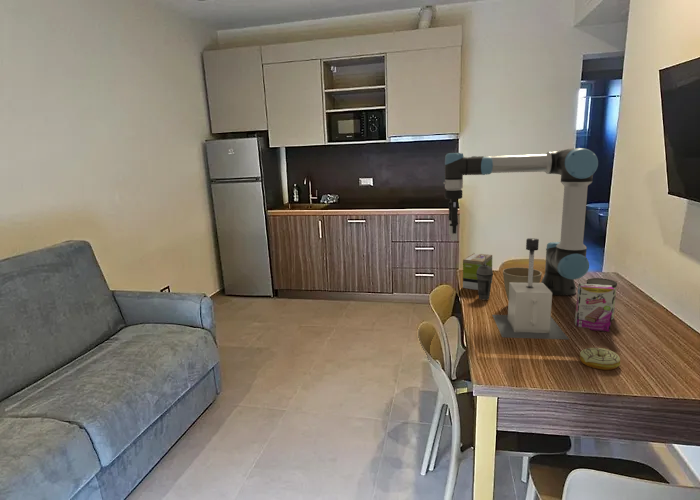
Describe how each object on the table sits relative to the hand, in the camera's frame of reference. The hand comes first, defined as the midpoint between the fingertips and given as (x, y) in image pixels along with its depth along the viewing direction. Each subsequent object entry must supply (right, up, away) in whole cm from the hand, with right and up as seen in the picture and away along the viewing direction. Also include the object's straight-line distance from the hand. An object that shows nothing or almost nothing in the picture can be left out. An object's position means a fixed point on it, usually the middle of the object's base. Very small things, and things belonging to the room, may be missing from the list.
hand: (452, 237), depth 191 cm
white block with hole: (+20, -34, -32) cm, 51 cm away
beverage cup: (+15, -27, +4) cm, 32 cm away
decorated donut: (+31, -41, -58) cm, 77 cm away
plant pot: (+26, -30, -10) cm, 41 cm away
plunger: (+20, -25, -33) cm, 46 cm away
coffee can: (+52, -32, -21) cm, 65 cm away
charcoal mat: (+21, -35, -31) cm, 51 cm away
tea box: (+18, -23, +23) cm, 37 cm away
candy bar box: (+44, -34, -32) cm, 64 cm away
